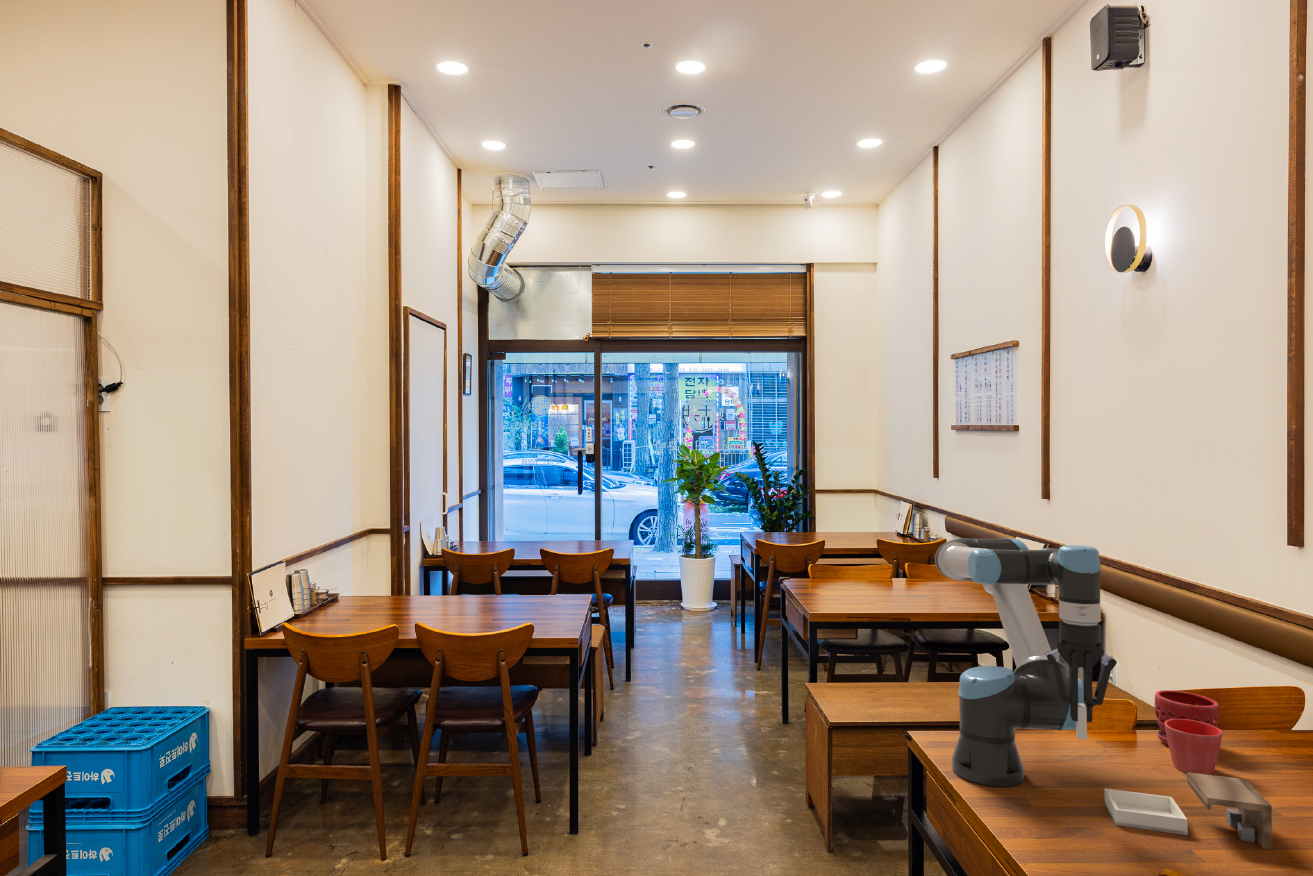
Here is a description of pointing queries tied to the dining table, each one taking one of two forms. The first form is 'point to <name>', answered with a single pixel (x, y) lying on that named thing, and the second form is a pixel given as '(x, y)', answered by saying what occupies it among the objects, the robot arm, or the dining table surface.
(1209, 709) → the plant pot
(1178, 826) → the tray
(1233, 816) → the small stepped grey block
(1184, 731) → the flower pot
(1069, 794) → the dining table surface
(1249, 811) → the shelf
